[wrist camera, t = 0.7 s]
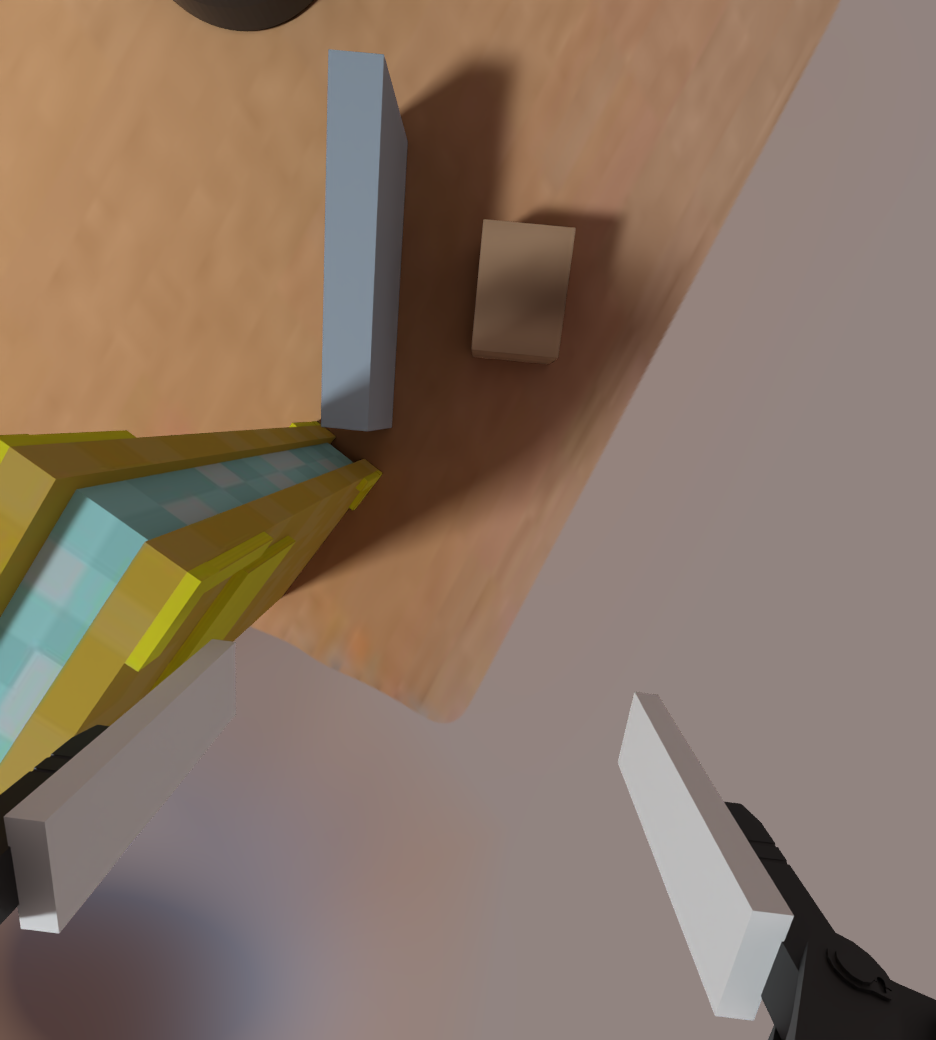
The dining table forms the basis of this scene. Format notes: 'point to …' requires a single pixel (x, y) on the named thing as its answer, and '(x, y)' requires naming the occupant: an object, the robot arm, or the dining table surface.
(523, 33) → the dining table surface
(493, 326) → the brown rectangular block
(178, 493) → the yellow rounded trough
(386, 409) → the slate board
